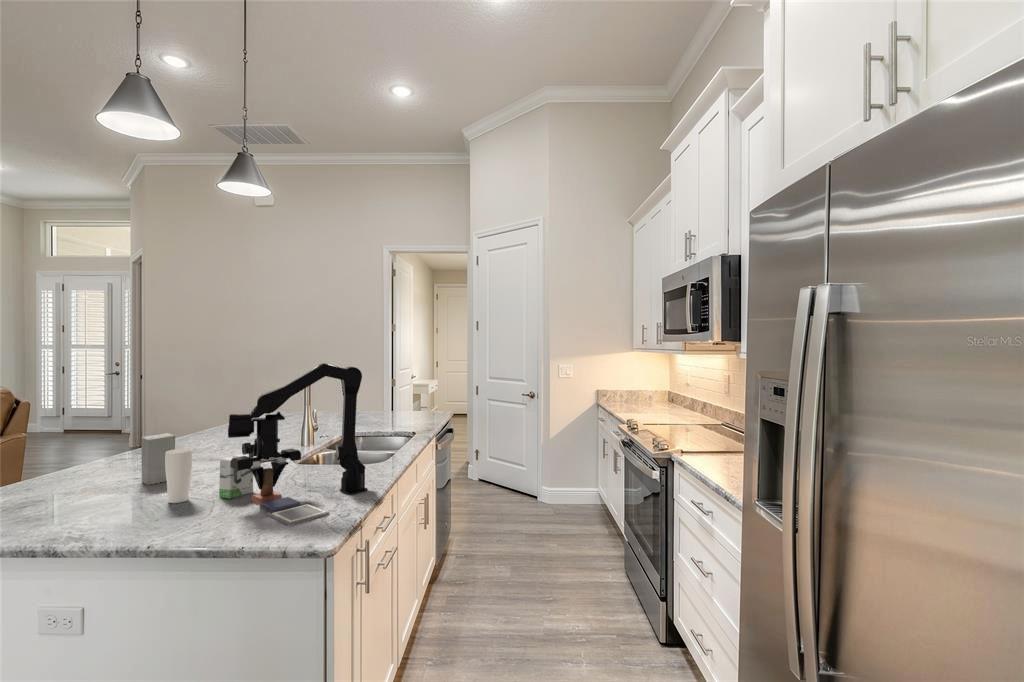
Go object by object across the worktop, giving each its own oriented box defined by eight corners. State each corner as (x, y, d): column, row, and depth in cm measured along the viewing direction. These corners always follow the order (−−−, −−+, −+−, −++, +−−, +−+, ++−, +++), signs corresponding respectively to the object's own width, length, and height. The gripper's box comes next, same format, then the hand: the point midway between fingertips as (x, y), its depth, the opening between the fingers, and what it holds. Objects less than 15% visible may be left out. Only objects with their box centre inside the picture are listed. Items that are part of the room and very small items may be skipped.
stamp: (272, 497, 155) (272, 466, 155) (281, 501, 151) (281, 469, 152) (252, 501, 151) (252, 469, 151) (261, 505, 147) (261, 473, 147)
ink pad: (288, 501, 151) (288, 496, 151) (302, 506, 146) (302, 501, 146) (259, 508, 145) (259, 502, 145) (273, 514, 139) (273, 508, 139)
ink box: (230, 499, 153) (230, 460, 153) (218, 497, 155) (218, 458, 155) (254, 491, 161) (254, 454, 161) (242, 490, 163) (242, 453, 163)
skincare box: (168, 477, 178) (168, 432, 178) (176, 480, 174) (177, 434, 174) (139, 482, 171) (140, 435, 171) (147, 486, 167) (148, 438, 167)
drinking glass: (196, 499, 153) (197, 449, 153) (173, 506, 146) (174, 454, 147) (182, 496, 155) (183, 447, 156) (159, 502, 149) (160, 451, 149)
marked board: (308, 506, 147) (308, 503, 147) (329, 514, 139) (329, 511, 139) (268, 516, 138) (268, 513, 138) (288, 525, 131) (288, 522, 131)
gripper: (285, 428, 164) (284, 477, 163) (222, 436, 149) (222, 489, 149) (302, 432, 157) (302, 483, 156) (238, 441, 142) (238, 496, 142)
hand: (266, 487), depth 151 cm, fingers closed on stamp, 3 cm apart
